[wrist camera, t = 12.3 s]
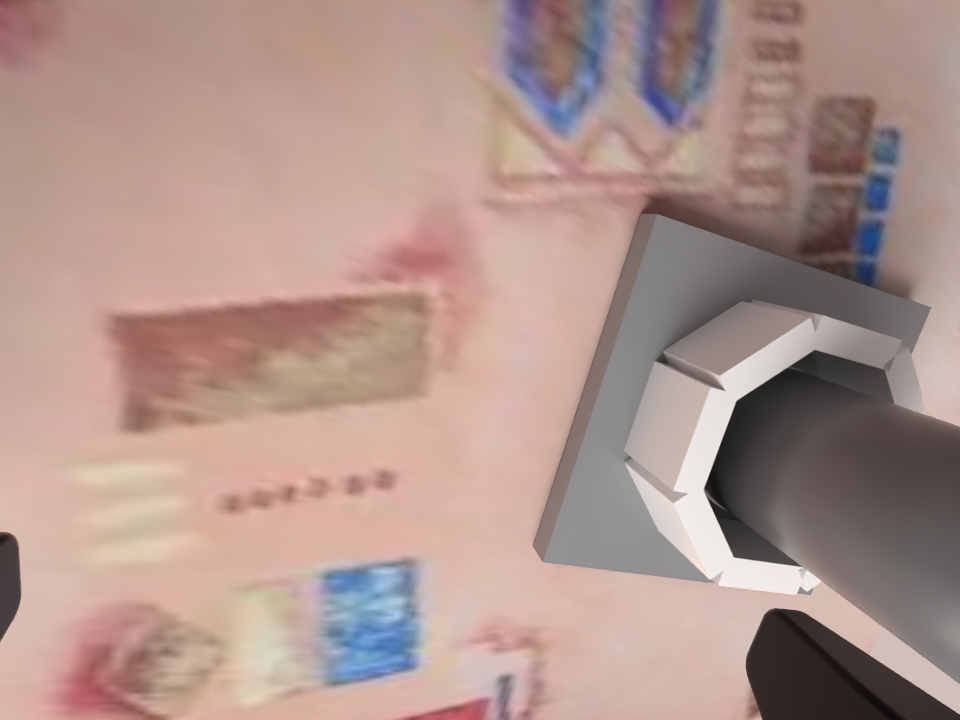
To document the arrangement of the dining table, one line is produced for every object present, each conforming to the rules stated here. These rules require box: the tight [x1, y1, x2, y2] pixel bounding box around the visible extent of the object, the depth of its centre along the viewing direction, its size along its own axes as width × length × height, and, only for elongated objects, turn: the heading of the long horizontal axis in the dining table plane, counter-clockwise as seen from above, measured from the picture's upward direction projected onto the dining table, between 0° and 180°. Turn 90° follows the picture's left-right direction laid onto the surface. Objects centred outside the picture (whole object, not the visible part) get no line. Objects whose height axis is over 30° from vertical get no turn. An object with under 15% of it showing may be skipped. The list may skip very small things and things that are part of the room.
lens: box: [704, 366, 960, 684], centre depth 16 cm, size 5×5×12 cm
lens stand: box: [533, 213, 931, 595], centre depth 21 cm, size 12×12×4 cm
